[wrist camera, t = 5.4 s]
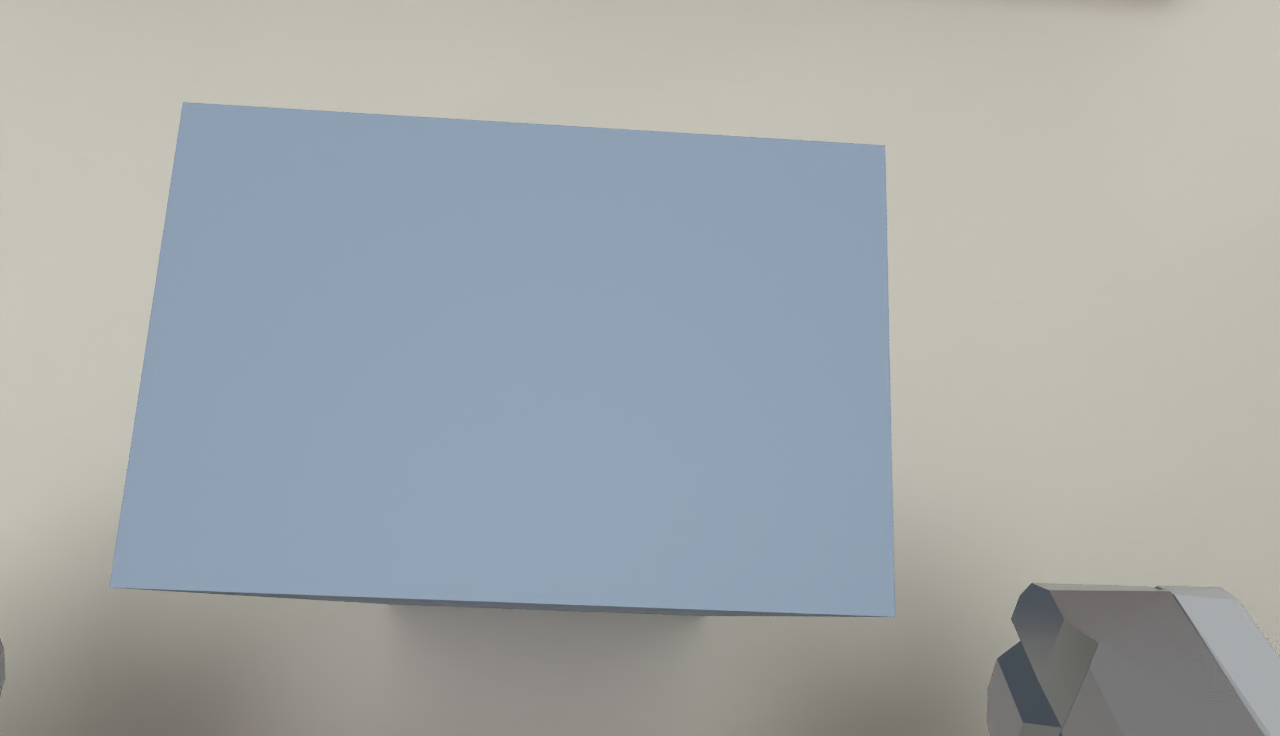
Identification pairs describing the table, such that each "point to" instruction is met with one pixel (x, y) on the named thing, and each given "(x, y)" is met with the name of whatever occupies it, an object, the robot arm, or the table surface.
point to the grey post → (515, 369)
